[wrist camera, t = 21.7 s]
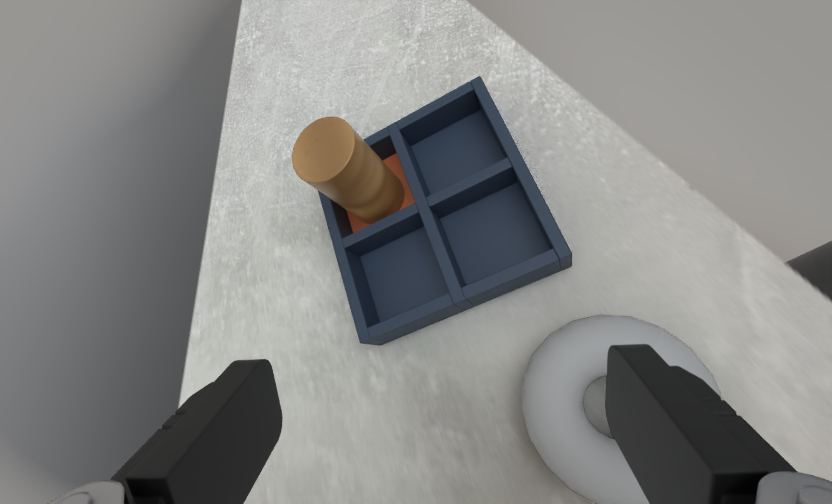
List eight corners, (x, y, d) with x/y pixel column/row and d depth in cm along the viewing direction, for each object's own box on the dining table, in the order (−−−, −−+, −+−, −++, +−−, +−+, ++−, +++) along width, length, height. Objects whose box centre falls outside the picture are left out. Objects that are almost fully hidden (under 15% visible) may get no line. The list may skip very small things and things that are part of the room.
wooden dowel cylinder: (394, 162, 32) (343, 103, 25) (412, 209, 30) (362, 161, 23) (347, 187, 33) (285, 137, 26) (361, 233, 31) (299, 194, 24)
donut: (509, 461, 25) (704, 534, 21) (499, 474, 22) (726, 564, 18) (542, 301, 26) (728, 340, 22) (537, 293, 23) (752, 336, 19)
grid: (487, 101, 31) (479, 75, 29) (572, 266, 26) (572, 254, 23) (332, 183, 35) (311, 168, 32) (379, 345, 29) (359, 343, 27)
